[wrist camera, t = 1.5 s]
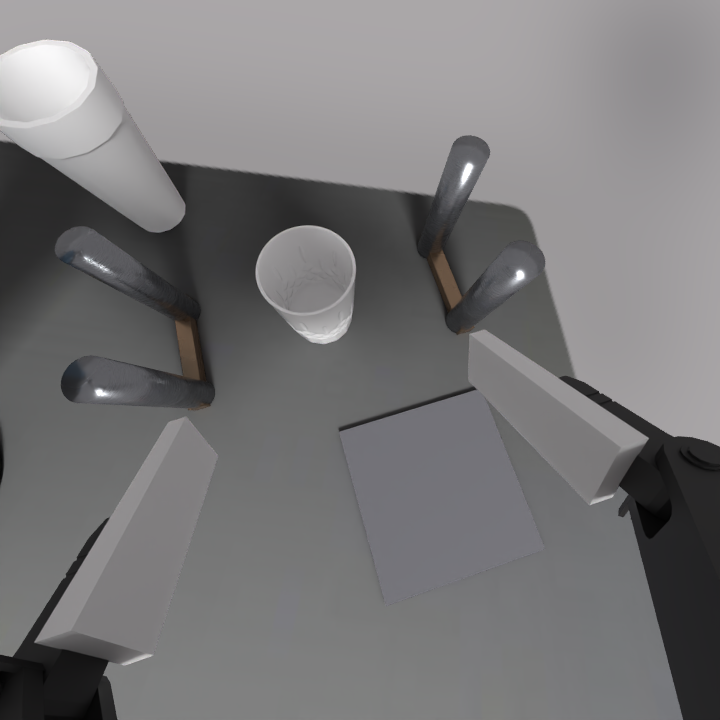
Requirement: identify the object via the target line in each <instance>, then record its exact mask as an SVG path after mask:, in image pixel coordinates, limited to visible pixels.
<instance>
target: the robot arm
mask: <svg viewBox="0 0 720 720" xmlns="http://www.w3.org/2000/svg"><path fill="white" fill-rule="evenodd" d="M468 381H469V382H470V383H471V384H472V385H473V386H474V387H475V388H476V389H477V390H478V391H479V392H480V393H481V394H482V395H483V396H484V397H485V398H486V399H487V400H488V401H489V402H490V403H491V404H492V405H493V406H494V407H495V408H496V409H497V410H498V411H499V413H500V414H501V415H502V416H503V417H504V418H505V419H506V420H507V421H508V422H509V423H510V424H511V425H512V426H513V427H514V428H515V429H516V430H517V431H518V432H519V433H520V434H521V435H522V436H523V437H524V438H525V439H526V440H527V441H528V442H529V443H530V444H531V445H532V446H533V448H534V449H535V450H536V451H537V452H538V453H539V454H540V455H541V456H542V457H543V458H544V459H545V460H546V461H547V462H548V463H549V464H550V465H551V466H552V467H553V468H554V469H555V470H556V471H557V472H558V473H559V474H560V475H561V476H562V477H563V478H564V479H565V480H566V481H567V483H568V484H569V485H570V486H571V487H572V488H573V489H574V490H575V491H576V492H577V493H578V494H579V495H580V496H581V497H582V498H583V499H584V500H585V501H586V502H587V503H588V504H589V505H591V504H594V503H597V502H600V501H603V500H606V499H609V498H611V497H613V495H614V493H615V492H616V490H617V489H618V487H619V486H620V487H621V488H622V489H623V490H625V491H626V492H627V493H628V494H629V495H628V496H627V498H626V499H625V501H624V502H623V504H622V505H621V506H620V508H619V514H618V516H621V517H624V516H625V514H626V513H627V512H628V510H629V511H630V515H631V520H632V523H633V527H634V531H635V534H636V538H637V542H638V546H639V550H640V554H641V558H642V562H643V565H644V569H645V573H646V577H647V581H648V585H649V589H650V593H651V596H652V600H653V604H654V608H655V612H656V616H657V620H658V624H659V627H660V631H661V635H662V639H663V643H664V647H665V651H666V655H667V658H668V662H669V666H670V670H671V674H672V678H673V682H674V686H675V689H676V693H677V697H678V701H679V705H680V709H681V713H682V717H683V720H720V447H719V446H717V445H714V444H712V443H710V442H708V441H704V440H700V439H696V438H692V437H679V436H678V437H673V436H671V435H669V434H667V433H665V432H664V431H662V430H660V429H659V428H657V427H656V426H654V425H652V424H651V423H649V422H648V421H646V420H644V419H643V418H641V417H639V416H638V415H636V414H635V413H633V412H631V411H630V410H628V409H626V408H625V407H623V406H621V405H620V404H618V403H617V402H613V401H612V399H610V398H609V397H607V396H605V395H604V394H600V393H599V391H597V390H596V389H594V388H592V387H591V386H589V385H588V384H586V383H584V382H582V381H579V380H576V379H574V378H571V377H568V376H563V377H560V378H557V377H556V376H554V375H553V374H551V373H550V372H548V371H547V370H545V369H544V368H542V367H541V366H539V365H538V364H536V363H535V362H533V361H532V360H530V359H529V358H527V357H526V356H524V355H523V354H521V353H520V352H518V351H516V350H515V349H513V348H512V347H510V346H509V345H507V344H506V343H504V342H503V341H501V340H500V339H498V338H497V337H495V336H494V335H492V334H491V333H489V332H488V331H486V330H482V331H478V332H475V333H471V334H470V335H469V366H468ZM217 459H218V455H217V453H216V452H215V451H214V450H213V449H212V447H211V446H210V445H209V444H208V442H207V441H206V440H205V439H204V437H203V436H202V435H201V434H200V433H199V431H198V430H197V429H196V428H195V426H194V425H193V424H192V423H191V422H190V420H189V419H188V418H187V417H183V418H180V419H176V420H173V421H169V422H168V424H167V425H166V427H165V429H164V430H163V432H162V433H161V435H160V437H159V438H158V440H157V442H156V443H155V445H154V447H153V448H152V450H151V452H150V453H149V455H148V456H147V458H146V460H145V461H144V463H143V465H142V466H141V468H140V470H139V471H138V473H137V474H136V476H135V478H134V479H133V481H132V483H131V484H130V486H129V488H128V489H127V491H126V493H125V494H124V496H123V497H122V499H121V501H120V502H119V504H118V506H117V507H116V509H115V511H114V512H113V514H112V516H111V517H110V518H107V519H106V520H105V521H104V522H103V523H102V524H101V525H100V526H99V527H98V528H97V530H96V531H95V532H94V533H93V534H92V535H91V536H90V537H89V539H88V540H87V542H86V544H85V545H84V547H83V548H82V550H81V551H80V553H79V555H78V556H77V560H76V561H74V562H73V564H72V566H71V567H70V569H69V570H68V572H67V573H66V578H65V579H63V580H62V581H61V583H60V584H59V586H58V588H57V589H56V591H55V592H54V594H53V595H52V597H51V599H50V600H49V602H48V603H47V605H46V606H45V608H44V610H43V611H42V613H41V614H40V616H39V617H38V619H37V621H36V622H35V624H34V625H33V627H32V629H31V630H30V632H29V633H28V635H27V636H26V638H25V640H24V641H23V643H22V644H21V646H20V647H19V649H18V650H17V652H16V653H15V654H14V656H13V657H9V656H4V655H0V720H117V716H116V711H115V705H114V700H113V695H112V689H111V684H110V682H109V680H108V678H107V676H103V674H104V671H105V669H106V666H107V664H108V662H113V663H118V664H122V665H127V664H130V663H133V662H136V661H139V660H142V659H145V658H147V657H150V656H153V655H154V652H155V649H156V646H157V643H158V640H159V636H160V633H161V630H162V627H163V624H164V621H165V618H166V615H167V612H168V609H169V606H170V603H171V600H172V597H173V594H174V590H175V587H176V584H177V581H178V578H179V575H180V572H181V569H182V566H183V563H184V560H185V557H186V554H187V551H188V548H189V544H190V541H191V538H192V535H193V532H194V529H195V526H196V523H197V520H198V517H199V514H200V511H201V508H202V505H203V502H204V498H205V495H206V492H207V489H208V486H209V483H210V480H211V477H212V474H213V471H214V468H215V465H216V462H217ZM0 469H1V460H0Z"/></svg>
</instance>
